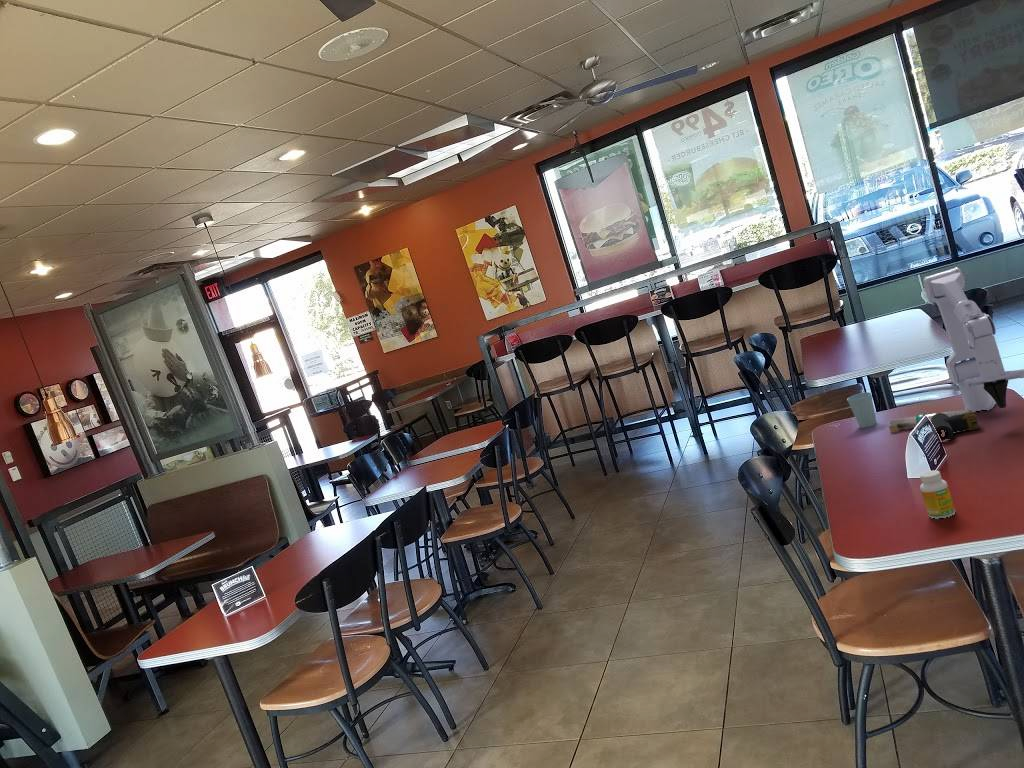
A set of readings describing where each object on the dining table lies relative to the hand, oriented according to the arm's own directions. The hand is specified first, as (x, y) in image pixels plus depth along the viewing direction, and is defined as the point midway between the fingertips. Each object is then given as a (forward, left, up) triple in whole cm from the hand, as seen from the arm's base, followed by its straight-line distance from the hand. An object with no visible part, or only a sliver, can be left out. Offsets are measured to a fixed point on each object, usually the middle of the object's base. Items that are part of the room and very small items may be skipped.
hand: (1002, 407), depth 211 cm
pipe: (-11, -23, -5) cm, 26 cm away
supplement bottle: (+62, -1, -6) cm, 62 cm away
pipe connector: (0, -13, -6) cm, 15 cm away
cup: (-22, -46, -6) cm, 51 cm away
